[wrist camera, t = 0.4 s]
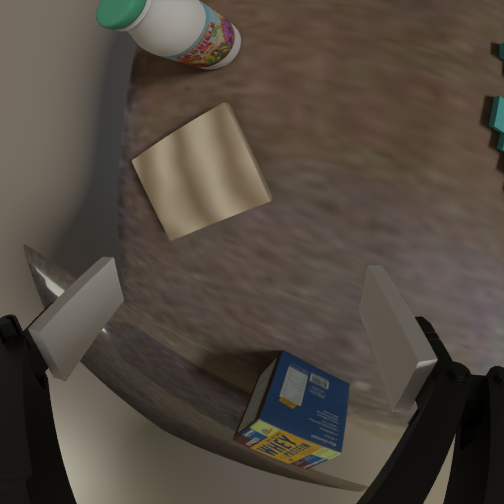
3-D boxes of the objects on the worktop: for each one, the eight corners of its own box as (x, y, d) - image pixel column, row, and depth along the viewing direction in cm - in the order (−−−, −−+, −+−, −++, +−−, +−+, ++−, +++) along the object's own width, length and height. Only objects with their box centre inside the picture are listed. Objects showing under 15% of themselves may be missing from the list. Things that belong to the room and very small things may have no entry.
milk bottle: (181, 58, 33) (71, 35, 16) (208, 15, 29) (111, -36, 12) (223, 79, 33) (119, 54, 16) (253, 33, 29) (170, -30, 12)
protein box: (320, 407, 53) (306, 470, 39) (257, 377, 54) (230, 439, 40) (351, 383, 48) (343, 454, 34) (282, 348, 48) (257, 419, 35)
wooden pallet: (237, 104, 34) (224, 102, 30) (278, 192, 37) (270, 201, 34) (150, 156, 41) (131, 160, 37) (185, 230, 44) (170, 241, 40)
